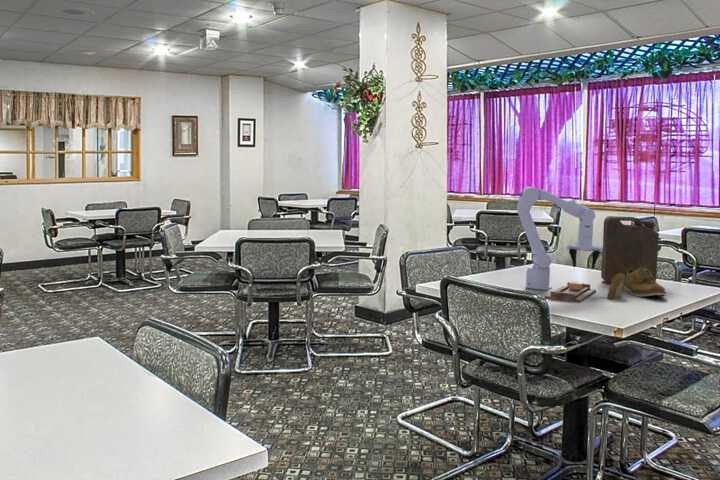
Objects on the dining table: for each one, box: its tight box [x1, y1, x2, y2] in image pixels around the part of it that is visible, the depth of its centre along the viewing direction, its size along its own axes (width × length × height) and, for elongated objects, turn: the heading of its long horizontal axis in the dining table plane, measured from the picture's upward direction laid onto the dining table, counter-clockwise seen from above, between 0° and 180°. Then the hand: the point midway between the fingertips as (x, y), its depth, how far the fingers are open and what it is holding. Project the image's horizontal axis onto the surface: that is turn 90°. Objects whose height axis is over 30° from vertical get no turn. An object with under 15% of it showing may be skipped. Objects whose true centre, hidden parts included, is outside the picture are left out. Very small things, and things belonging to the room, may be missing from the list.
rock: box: [606, 273, 625, 300], centre depth 269 cm, size 11×9×10 cm
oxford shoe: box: [623, 267, 667, 298], centre depth 276 cm, size 28×10×11 cm, turn 3°
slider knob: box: [569, 281, 585, 290], centre depth 278 cm, size 5×4×2 cm
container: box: [600, 215, 660, 285], centre depth 300 cm, size 22×10×30 cm, turn 81°
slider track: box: [544, 281, 597, 303], centre depth 272 cm, size 14×26×3 cm, turn 148°
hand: (583, 267), depth 284 cm, fingers open, 7 cm apart
